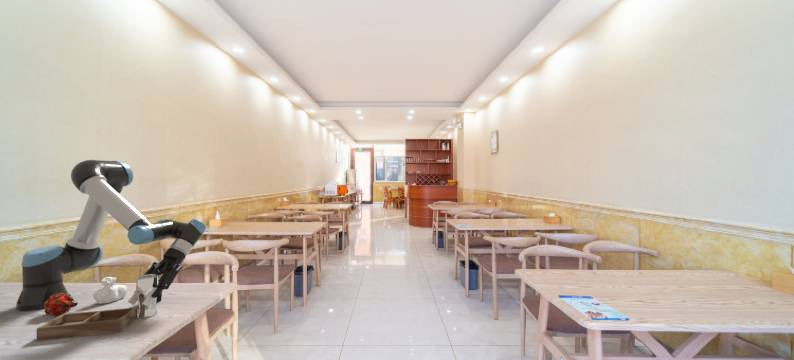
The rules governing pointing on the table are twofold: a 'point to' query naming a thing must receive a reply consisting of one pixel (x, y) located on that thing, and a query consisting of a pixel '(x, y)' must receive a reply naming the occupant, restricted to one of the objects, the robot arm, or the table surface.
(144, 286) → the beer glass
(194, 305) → the table surface
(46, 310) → the dragon fruit
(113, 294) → the white lumpy irregular piece
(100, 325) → the wooden tray
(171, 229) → the robot arm
